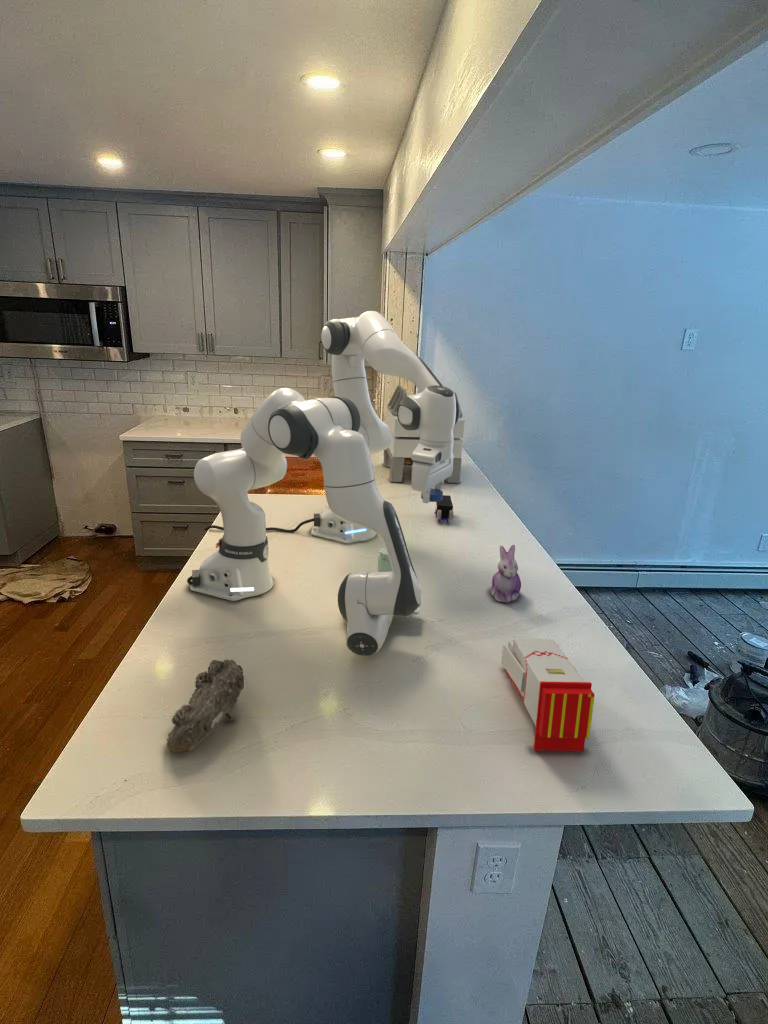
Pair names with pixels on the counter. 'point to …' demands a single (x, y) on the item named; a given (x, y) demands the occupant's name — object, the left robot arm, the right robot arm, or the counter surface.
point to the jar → (384, 561)
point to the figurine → (506, 577)
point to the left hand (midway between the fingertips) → (386, 585)
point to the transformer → (414, 442)
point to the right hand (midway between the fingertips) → (431, 499)
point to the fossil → (206, 705)
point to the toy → (550, 693)
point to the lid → (435, 495)
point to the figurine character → (444, 509)
